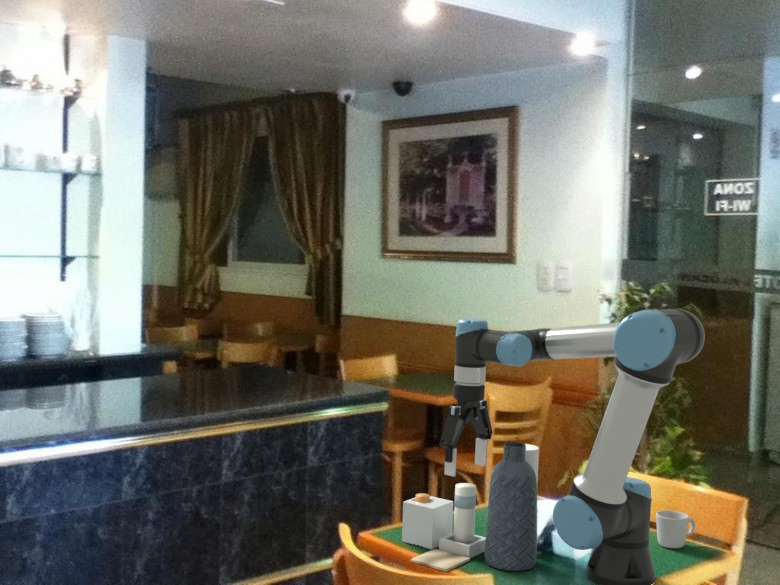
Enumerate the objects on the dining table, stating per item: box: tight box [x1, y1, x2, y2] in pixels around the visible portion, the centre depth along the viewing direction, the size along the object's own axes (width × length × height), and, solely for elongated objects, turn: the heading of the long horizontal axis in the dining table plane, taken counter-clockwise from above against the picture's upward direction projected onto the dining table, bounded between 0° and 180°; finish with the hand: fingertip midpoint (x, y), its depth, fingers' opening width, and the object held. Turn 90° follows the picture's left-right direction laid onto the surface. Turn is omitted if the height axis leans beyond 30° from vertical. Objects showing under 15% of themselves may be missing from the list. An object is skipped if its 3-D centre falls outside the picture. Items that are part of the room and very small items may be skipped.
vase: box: [484, 441, 538, 572], centre depth 222 cm, size 12×12×28 cm
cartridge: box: [453, 482, 477, 545], centre depth 231 cm, size 5×5×16 cm
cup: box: [655, 509, 696, 549], centre depth 240 cm, size 11×8×8 cm
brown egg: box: [414, 492, 431, 504], centre depth 238 cm, size 4×4×6 cm
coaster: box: [410, 548, 471, 573], centre depth 223 cm, size 10×10×1 cm
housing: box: [401, 495, 486, 559], centre depth 234 cm, size 20×9×10 cm, turn 53°
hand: (465, 470), depth 230 cm, fingers open, 13 cm apart
